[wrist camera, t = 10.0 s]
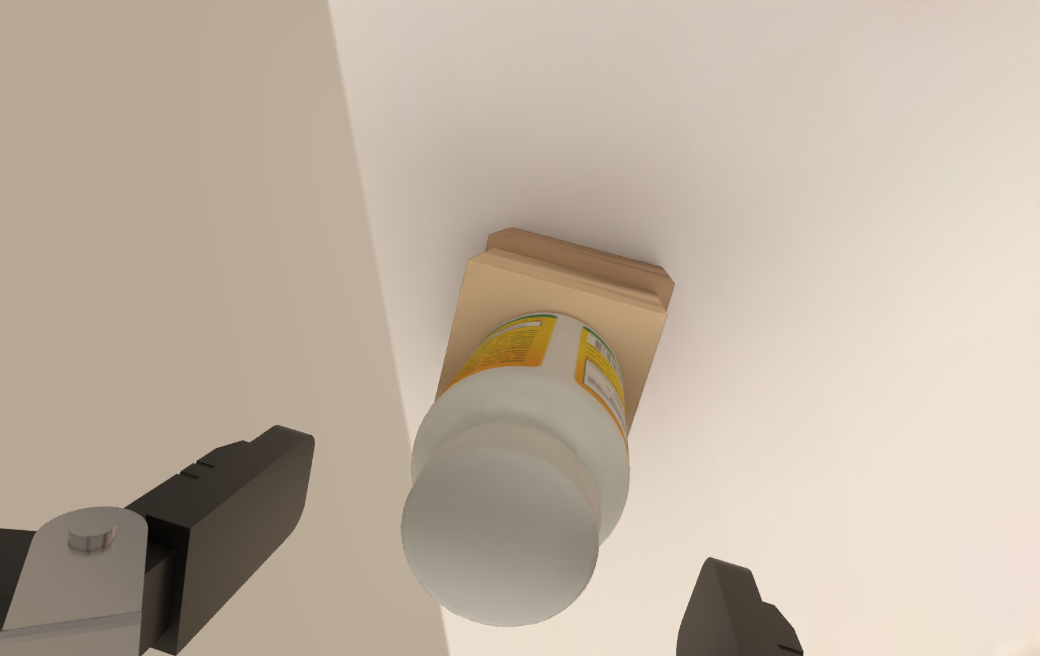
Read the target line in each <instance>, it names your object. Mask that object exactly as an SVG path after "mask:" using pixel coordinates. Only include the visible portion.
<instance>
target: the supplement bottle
mask: <svg viewBox="0 0 1040 656" xmlns="http://www.w3.org/2000/svg"><path fill="white" fill-rule="evenodd" d="M411 471H412V482H413V487H412V489H411V491H410V493H409V495H408V497H407V500H406V503H405V506H404V510H403V515H402V523H401V534H402V542H403V549H404V553H405V556H406V559H407V562H408V564H409V566H410V568H411V570H412V572H413V574H414V575H415V577H416V578H417V580H418V581H419V583H420V584H421V585H422V586H423V588H424V589H425V590H426V591H427V592H428V593H429V595H431V597H433V598H434V599H435V600H436V601H437V602H439V603H440V604H441V605H442V606H444V607H445V608H447V609H448V610H450V611H451V612H453V613H455V614H457V615H459V616H461V617H464V618H466V619H469V620H471V621H474V622H478V623H481V624H486V625H491V626H497V627H515V626H523V625H529V624H535V623H539V622H541V621H544V620H547V619H549V618H551V617H553V616H555V615H557V614H558V613H560V612H562V611H563V610H565V609H566V608H567V607H568V606H570V605H571V604H572V603H573V602H574V601H575V600H576V599H577V598H578V597H579V596H580V594H581V593H582V592H583V590H584V589H585V588H586V586H587V585H588V583H589V581H590V579H591V577H592V574H593V572H594V569H595V566H596V561H597V557H598V551H599V546H600V545H601V544H602V543H603V542H604V541H605V540H606V539H607V538H608V536H609V535H610V534H611V532H612V531H613V529H614V528H615V526H616V524H617V523H618V521H619V519H620V517H621V514H622V512H623V509H624V506H625V503H626V500H627V495H628V490H629V480H630V467H629V452H628V440H627V427H626V416H625V402H624V387H623V381H622V375H621V371H620V367H619V364H618V362H617V359H616V357H615V355H614V353H613V351H612V350H611V348H610V347H609V345H608V344H607V343H606V341H605V340H604V339H603V338H602V337H601V336H600V335H599V334H598V333H597V332H596V331H595V330H593V329H592V328H591V327H589V326H588V325H586V324H584V323H582V322H581V321H579V320H577V319H574V318H572V317H569V316H566V315H562V314H557V313H549V312H538V313H532V314H527V315H523V316H520V317H517V318H514V319H511V320H509V321H507V322H505V323H503V324H502V325H500V326H499V327H497V328H496V329H494V330H493V331H492V332H491V333H490V334H489V335H488V336H487V337H486V338H485V339H484V340H483V341H482V342H481V343H480V344H479V346H478V347H477V348H476V350H475V351H474V353H473V354H472V355H471V356H470V358H469V359H468V361H467V362H466V363H465V364H464V366H463V367H462V368H461V369H460V371H459V372H458V373H457V374H456V376H455V377H454V378H453V380H452V381H451V382H450V383H449V385H448V386H447V387H446V389H445V390H444V391H443V392H442V394H441V395H440V396H439V397H438V399H437V400H436V401H435V402H434V404H433V405H432V406H431V408H430V409H429V411H428V413H427V414H426V416H425V417H424V419H423V421H422V423H421V425H420V427H419V429H418V432H417V435H416V439H415V442H414V446H413V452H412V462H411Z"/></svg>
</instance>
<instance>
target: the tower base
mask: <svg viewBox="0 0 1040 656" xmlns="http://www.w3.org/2000/svg"><path fill="white" fill-rule="evenodd" d="M493 248H499V249H502V250H506V251H509V252H513V253H517V254H520V255H524V256H527V257H531V258H535V259H538V260H542V261H545V262H549V263H553V264H556V265H560V266H564V267H567V268H571V269H574V270H578V271H582V272H585V273H589V274H592V275H596V276H600V277H603V278H607V279H610V280H614V281H618V282H621V283H625V284H628V285H632V286H636V287H639V288H643V289H646V290H650V291H654V292H656V293H657V295H658V297H659V299H660V301H661V303H662V305H663V307H664V309H665V311H667V308H668V304H669V301H670V298H671V295H672V292H673V289H674V285H675V283H674V282H673V281H672V279H671V278H670V277H669V275H668V274H667V273H666V271H665V270H664V269H663V268H662V267H659V266H655V265H651V264H647V263H644V262H640V261H636V260H632V259H629V258H625V257H621V256H617V255H613V254H610V253H606V252H602V251H598V250H595V249H591V248H587V247H583V246H579V245H576V244H572V243H568V242H564V241H561V240H557V239H553V238H549V237H545V236H542V235H538V234H534V233H530V232H527V231H523V230H519V229H515V228H508V229H505V230H502V231H499V232H496V233H493V234H489V238H488V242H487V246H486V251H488V250H490V249H493ZM486 251H485V252H486Z"/></svg>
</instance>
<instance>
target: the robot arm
mask: <svg viewBox="0 0 1040 656" xmlns="http://www.w3.org/2000/svg"><path fill="white" fill-rule="evenodd" d="M314 446H315V441H314V437H313V436H312V435H309V434H306V433H303V432H300V431H296V430H293V429H290V428H286V427H283V426H279V425H275V426H273V427H272V428H270V429H269V430H267V431H266V432H264V433H263V434H261V435H260V436H259V437H257V438H256V439H255V440H253V441H251V442H250V443H249V442H246V441H243V440H242V441H239V442H236V443H232V444H229V445H226V446H222V447H219V448H216V449H214V450H213V451H211V452H210V453H208V454H207V455H205V456H204V457H202V458H201V459H199V460H197V462H196V464H194V463H193V464H191V465H190V466H188V467H187V468H185V469H184V470H182V471H181V472H180V474H179V475H178V474H176V475H174V476H173V477H171V478H170V479H168V480H167V481H165V482H164V483H162V484H160V485H159V486H157V487H156V488H154V489H153V490H151V491H149V492H148V493H146V494H145V495H143V496H142V497H140V498H139V499H137V500H136V501H134V502H132V503H131V504H129V505H128V506H126V507H125V508H118V507H91V508H84V509H79V510H75V511H72V512H68V513H65V514H63V515H60V516H58V517H56V518H54V519H52V520H50V521H49V522H47V523H45V524H44V525H43V526H42V527H41V528H40V529H39V530H38V531H26V530H14V529H13V530H12V529H1V528H0V656H142V655H143V653H145V652H146V651H147V650H148V649H149V648H150V647H151V648H154V649H157V650H160V651H163V652H165V653H168V654H171V655H174V656H176V655H177V654H178V653H179V652H180V651H181V650H182V649H183V648H184V647H185V646H186V645H187V644H188V643H189V642H190V641H191V639H192V638H193V637H194V636H195V635H196V634H197V633H198V632H199V631H200V630H201V629H202V628H203V627H204V625H206V623H207V622H208V621H209V620H210V619H211V618H212V617H213V616H214V615H215V614H216V613H217V612H218V611H219V610H220V609H221V608H222V607H223V605H224V604H225V603H226V602H227V601H228V600H229V599H230V598H231V597H232V596H233V595H234V594H235V593H236V591H238V590H239V588H240V587H241V586H242V585H243V584H244V583H245V582H246V581H247V580H248V579H249V578H250V577H251V576H252V575H253V574H254V572H255V571H256V570H257V569H258V568H259V567H260V566H261V565H262V564H263V563H264V562H265V561H266V560H267V558H269V556H270V555H271V554H272V553H273V552H274V551H275V550H276V549H277V548H278V547H279V546H280V545H281V544H282V543H283V542H284V541H285V539H286V538H287V537H288V536H289V535H290V534H291V533H292V531H293V530H294V529H295V527H296V525H297V523H298V521H299V519H300V517H301V514H302V512H303V508H304V505H305V500H306V493H307V488H308V482H309V477H310V470H311V465H312V458H313V453H314ZM803 653H804V652H803V649H802V647H801V645H800V642H799V640H798V637H797V635H796V633H795V630H794V628H793V627H792V626H791V625H790V623H789V622H788V621H787V620H786V619H785V617H784V616H783V615H782V614H781V613H780V611H779V610H778V609H777V608H776V607H775V605H772V604H769V603H766V602H763V601H762V599H761V596H760V594H759V591H758V588H757V586H756V583H755V580H754V577H753V575H752V572H751V571H750V570H749V569H748V568H744V567H741V566H738V565H734V564H731V563H728V562H725V561H721V560H718V559H715V558H711V557H709V558H707V559H706V561H705V562H704V564H703V566H702V569H701V571H700V574H699V577H698V579H697V582H696V585H695V587H694V590H693V593H692V595H691V598H690V601H689V603H688V606H687V609H686V611H685V614H684V617H683V619H682V622H681V625H680V629H679V633H678V639H677V648H676V656H803Z"/></svg>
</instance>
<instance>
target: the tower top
mask: <svg viewBox="0 0 1040 656" xmlns="http://www.w3.org/2000/svg"><path fill="white" fill-rule="evenodd" d="M538 312H549V313H557V314H562V315H566V316H569V317H572V318H574V319H577V320H579V321H581V322H582V323H584V324H586V325H588V326H589V327H591V328H592V329H593V330H595V331H596V332H597V333H598V334H599V335H600V336H601V337H602V338H603V339H604V340H605V341H606V343H607V344H608V345H609V347H610V348H611V350H612V351H613V353H614V355H615V357H616V359H617V362H618V364H619V367H620V371H621V375H622V381H623V387H624V402H625V416H626V427H627V437H628V434H629V431H630V428H631V425H632V422H633V419H634V416H635V413H636V410H637V407H638V404H639V401H640V398H641V395H642V392H643V388H644V385H645V382H646V379H647V376H648V373H649V370H650V367H651V364H652V361H653V358H654V355H655V352H656V349H657V346H658V343H659V340H660V337H661V334H662V331H663V327H664V324H665V321H666V318H667V313H666V311H665V309H664V307H663V305H662V303H661V301H660V299H659V297H658V295H657V293H656V292H654V291H650V290H646V289H643V288H639V287H636V286H632V285H628V284H625V283H621V282H618V281H614V280H610V279H607V278H603V277H600V276H596V275H592V274H589V273H585V272H582V271H578V270H574V269H571V268H567V267H564V266H560V265H556V264H553V263H549V262H545V261H542V260H538V259H535V258H531V257H527V256H524V255H520V254H517V253H513V252H509V251H506V250H502V249H499V248H493V249H490V250H488V251H486V252H484V253H481V254H479V255H477V256H475V257H472V258H470V259H468V262H467V266H466V270H465V274H464V279H463V283H462V287H461V291H460V296H459V300H458V304H457V308H456V313H455V317H454V321H453V325H452V330H451V334H450V338H449V342H448V347H447V351H446V355H445V359H444V364H443V368H442V372H441V376H440V380H439V385H438V389H437V393H436V397H435V401H436V400H437V399H438V397H439V396H440V395H441V394H442V392H443V391H444V390H445V389H446V387H447V386H448V385H449V383H450V382H451V381H452V380H453V378H454V377H455V376H456V374H457V373H458V372H459V371H460V369H461V368H462V367H463V366H464V364H465V363H466V362H467V361H468V359H469V358H470V356H471V355H472V354H473V353H474V351H475V350H476V348H477V347H478V346H479V344H480V343H481V342H482V341H483V340H484V339H485V338H486V337H487V336H488V335H489V334H490V333H491V332H492V331H493V330H494V329H496V328H497V327H499V326H500V325H502V324H503V323H505V322H507V321H509V320H511V319H514V318H517V317H520V316H523V315H527V314H532V313H538Z"/></svg>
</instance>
